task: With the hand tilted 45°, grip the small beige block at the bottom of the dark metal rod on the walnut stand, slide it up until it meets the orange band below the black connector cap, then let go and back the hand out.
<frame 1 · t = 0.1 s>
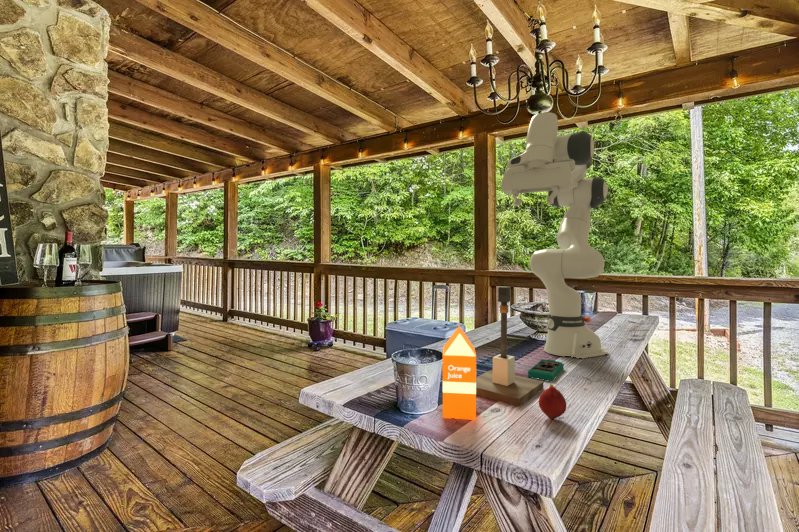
hand: (533, 204, 111), 52 cm above the table, tool tilted 20°, fingers open, 8 cm apart
digital multimeter: (546, 375, 118), on the table
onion: (552, 420, 86), on the table
rod stand: (503, 389, 104), on the table
small beige block: (503, 369, 104), point 6 cm above the table, slide at 0.0 cm
orange juice: (459, 411, 91), on the table
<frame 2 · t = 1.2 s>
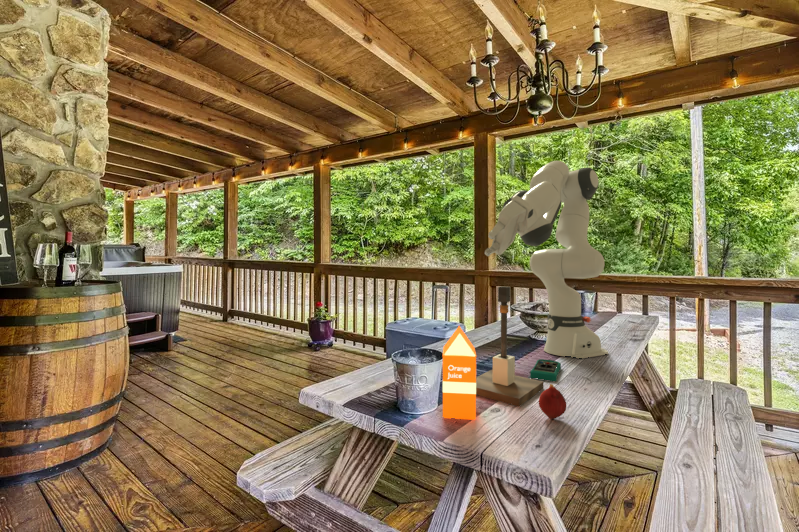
hand: (488, 245, 111), 40 cm above the table, tool tilted 55°, fingers open, 8 cm apart
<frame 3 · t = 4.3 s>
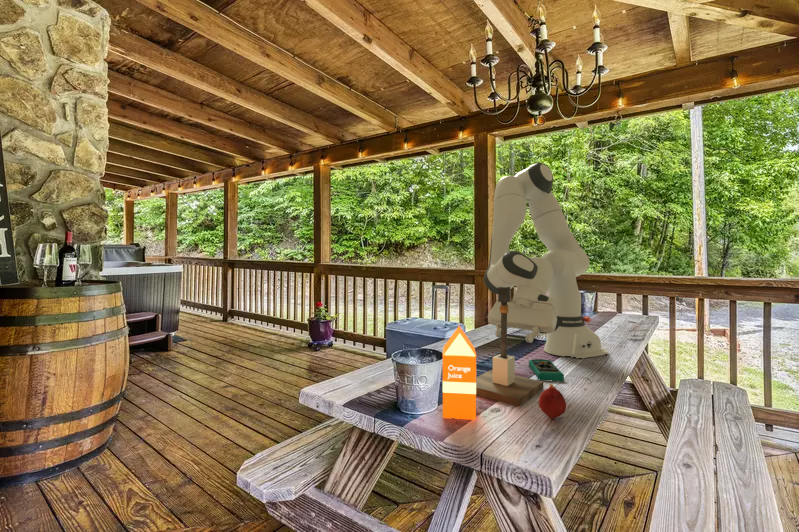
hand: (512, 338, 110), 13 cm above the table, tool tilted 45°, fingers open, 8 cm apart
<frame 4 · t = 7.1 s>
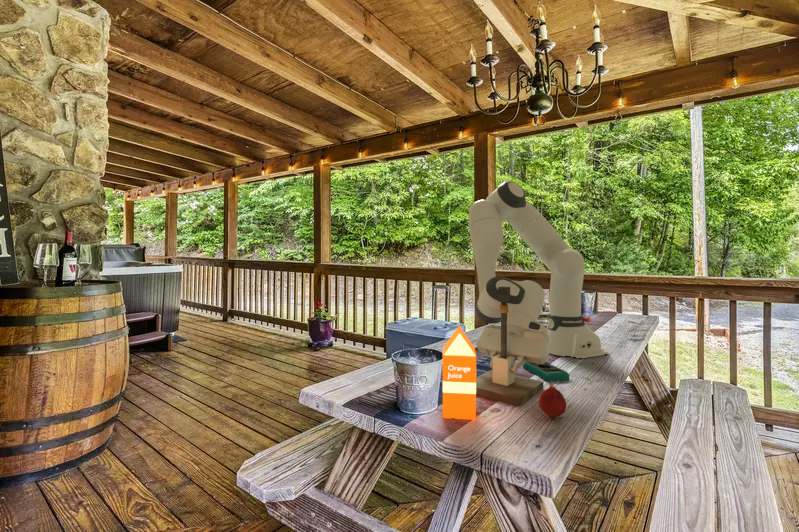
hand: (502, 369, 103), 6 cm above the table, tool tilted 45°, fingers closed on small beige block, 4 cm apart
small beige block: (503, 369, 104), point 6 cm above the table, slide at 0.0 cm, touching gripper
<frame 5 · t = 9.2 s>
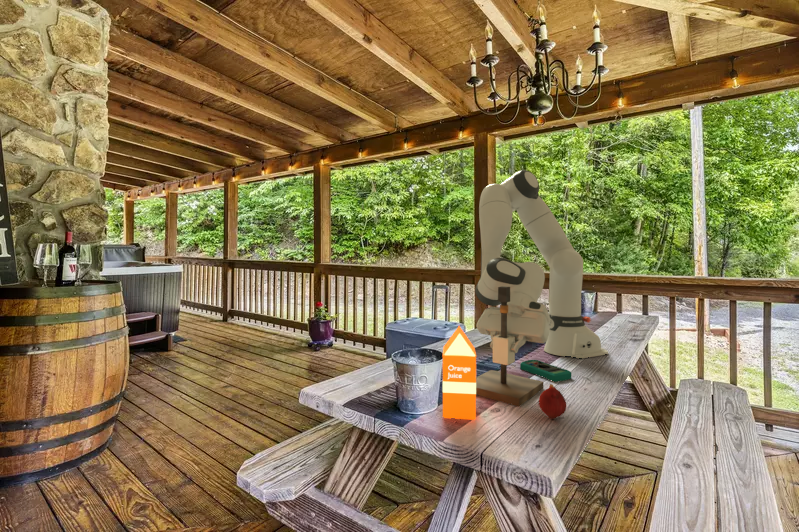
hand: (503, 349, 103), 11 cm above the table, tool tilted 45°, fingers open, 4 cm apart
small beige block: (503, 349, 104), point 11 cm above the table, slide at 5.6 cm, touching gripper
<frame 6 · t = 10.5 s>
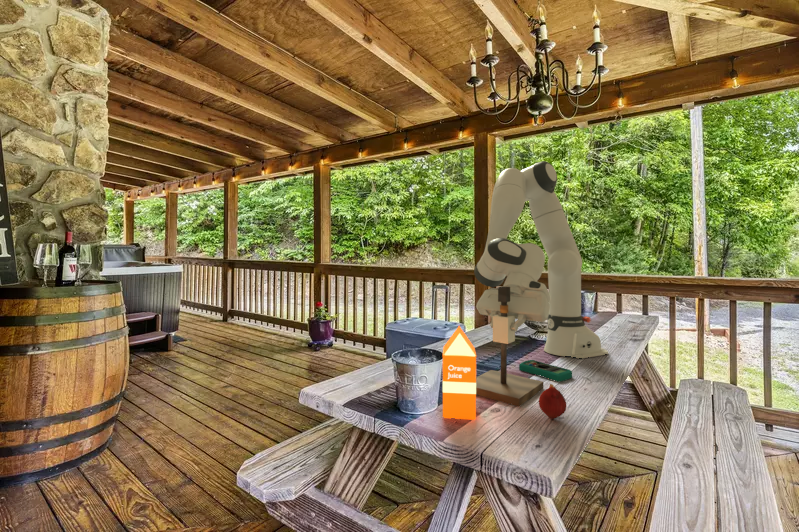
hand: (502, 328, 103), 17 cm above the table, tool tilted 45°, fingers closed on small beige block, 4 cm apart
small beige block: (503, 328, 103), point 17 cm above the table, slide at 11.4 cm, touching gripper
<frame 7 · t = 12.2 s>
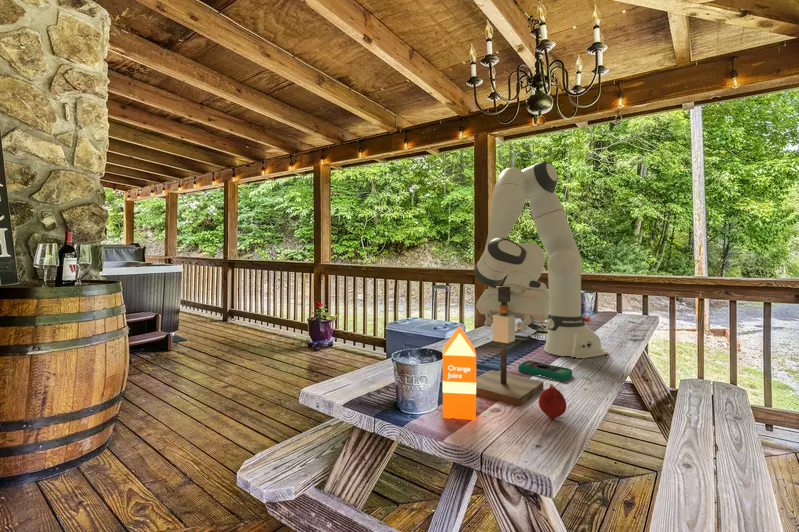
hand: (502, 327, 103), 17 cm above the table, tool tilted 45°, fingers open, 8 cm apart
small beige block: (503, 327, 103), point 17 cm above the table, slide at 11.5 cm
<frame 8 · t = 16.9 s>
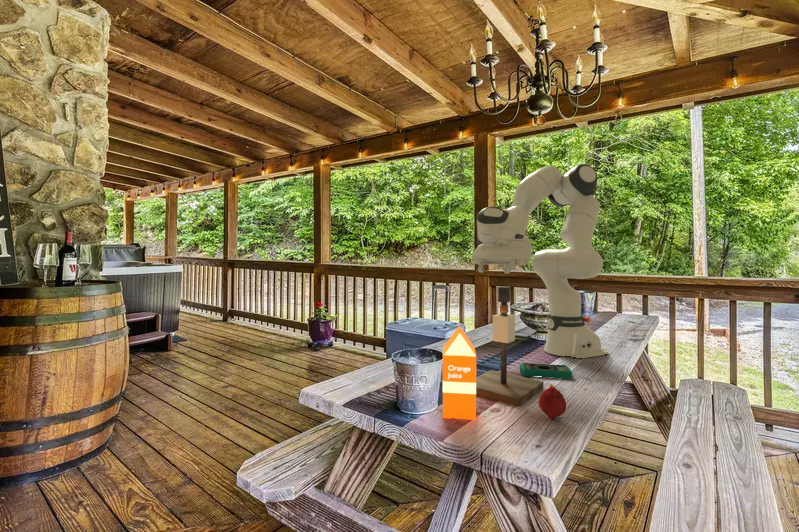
hand: (492, 271, 126), 31 cm above the table, tool tilted 45°, fingers open, 8 cm apart
at the end: small beige block slide at 11.5 cm; the gripper is holding nothing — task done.
